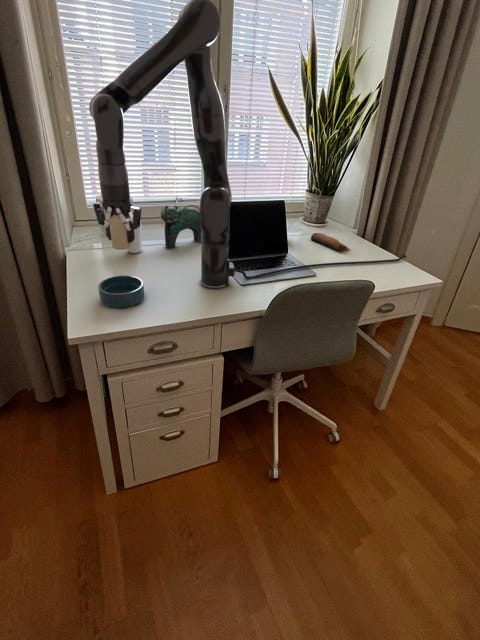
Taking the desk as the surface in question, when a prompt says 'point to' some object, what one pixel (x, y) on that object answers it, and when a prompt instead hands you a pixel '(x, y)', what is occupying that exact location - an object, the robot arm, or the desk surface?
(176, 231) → the ceramic cat
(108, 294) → the bowl
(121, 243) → the candle
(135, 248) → the drinking glass
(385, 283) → the desk surface
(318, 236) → the brown tapered cylinder
